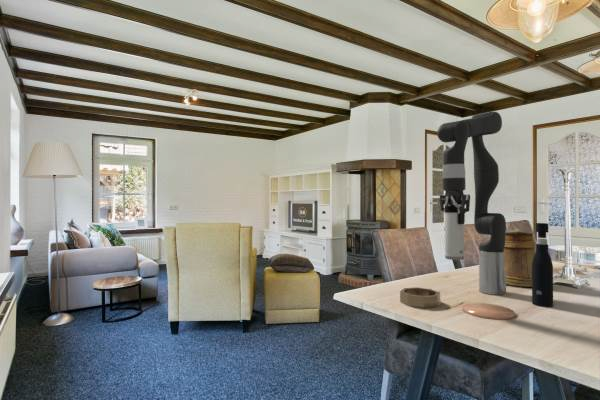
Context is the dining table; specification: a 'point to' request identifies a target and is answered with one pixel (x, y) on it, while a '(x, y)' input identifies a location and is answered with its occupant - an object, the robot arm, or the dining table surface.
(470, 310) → the coaster
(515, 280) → the tankard
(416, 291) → the collar ring
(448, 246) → the travel mug
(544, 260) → the black water bottle
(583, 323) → the dining table surface
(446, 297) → the dining table surface
